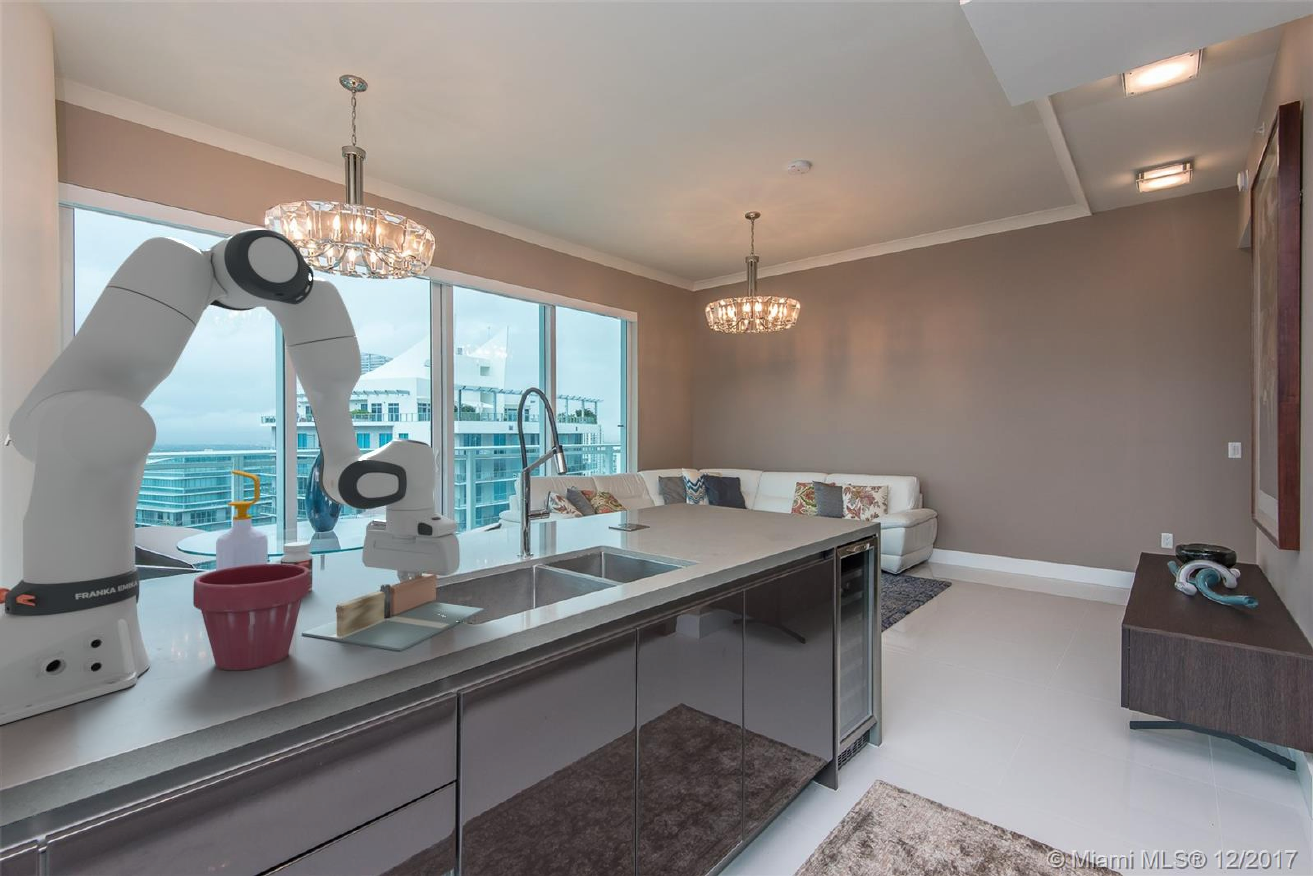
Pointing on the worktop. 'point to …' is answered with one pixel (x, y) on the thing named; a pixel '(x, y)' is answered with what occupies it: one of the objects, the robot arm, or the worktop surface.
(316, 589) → the worktop surface
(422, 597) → the orange hinged panel
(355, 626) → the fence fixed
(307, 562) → the pill bottle
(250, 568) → the plant pot
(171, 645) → the worktop surface
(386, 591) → the fence post
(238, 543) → the soap bottle
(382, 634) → the board
